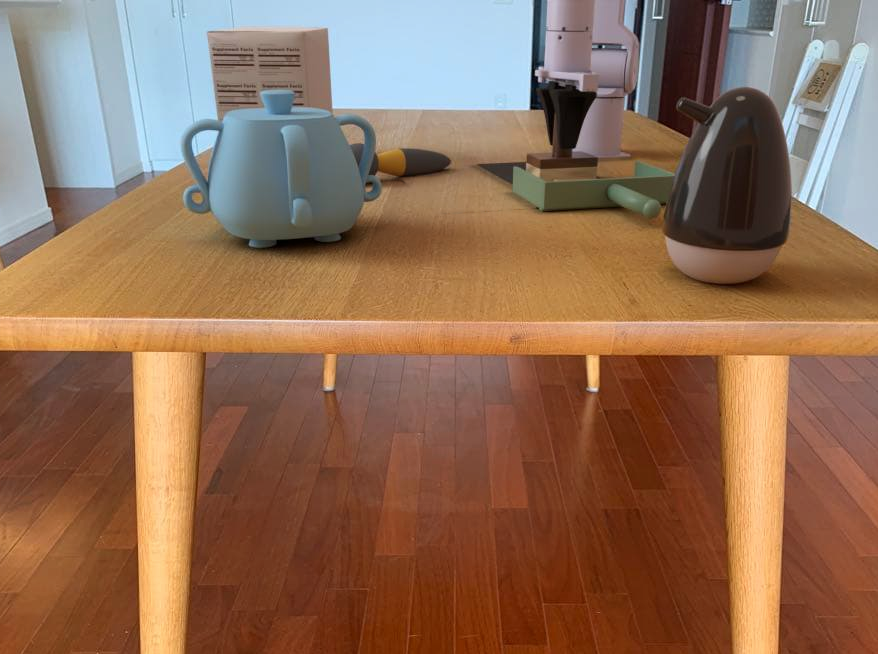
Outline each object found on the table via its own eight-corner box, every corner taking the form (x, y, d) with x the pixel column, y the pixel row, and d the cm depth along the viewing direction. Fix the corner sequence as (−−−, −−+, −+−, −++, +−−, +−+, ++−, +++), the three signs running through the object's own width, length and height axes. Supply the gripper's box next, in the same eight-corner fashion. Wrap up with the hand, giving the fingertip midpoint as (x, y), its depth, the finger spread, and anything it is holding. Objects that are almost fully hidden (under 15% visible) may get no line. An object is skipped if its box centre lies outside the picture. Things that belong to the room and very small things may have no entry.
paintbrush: (432, 166, 117) (432, 130, 115) (456, 171, 114) (456, 134, 111) (319, 185, 104) (316, 144, 102) (341, 190, 101) (339, 149, 99)
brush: (525, 178, 108) (528, 111, 104) (580, 175, 110) (585, 110, 106) (539, 185, 103) (542, 116, 100) (596, 182, 105) (601, 114, 102)
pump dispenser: (640, 259, 74) (660, 81, 67) (751, 258, 75) (781, 81, 68) (675, 294, 65) (701, 92, 58) (800, 293, 65) (841, 92, 59)
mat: (476, 166, 118) (476, 164, 118) (558, 162, 121) (559, 160, 121) (518, 190, 102) (518, 187, 102) (611, 185, 106) (612, 182, 105)
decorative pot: (170, 240, 79) (147, 92, 73) (283, 208, 92) (271, 80, 86) (296, 265, 72) (281, 103, 66) (400, 227, 84) (396, 87, 78)
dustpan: (512, 193, 100) (513, 166, 99) (636, 187, 104) (638, 160, 103) (579, 233, 82) (581, 201, 81) (725, 223, 87) (729, 192, 85)
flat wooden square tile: (552, 185, 104) (552, 178, 103) (584, 183, 105) (584, 177, 104) (566, 191, 100) (566, 185, 99) (599, 190, 101) (599, 183, 101)
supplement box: (253, 152, 127) (240, 26, 120) (337, 153, 127) (329, 27, 119) (220, 172, 112) (202, 28, 104) (315, 173, 112) (305, 29, 104)
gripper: (518, 29, 104) (514, 139, 110) (561, 32, 91) (554, 156, 97) (569, 29, 106) (562, 138, 112) (618, 32, 93) (608, 154, 99)
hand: (562, 146), depth 105 cm, fingers closed on brush, 2 cm apart
